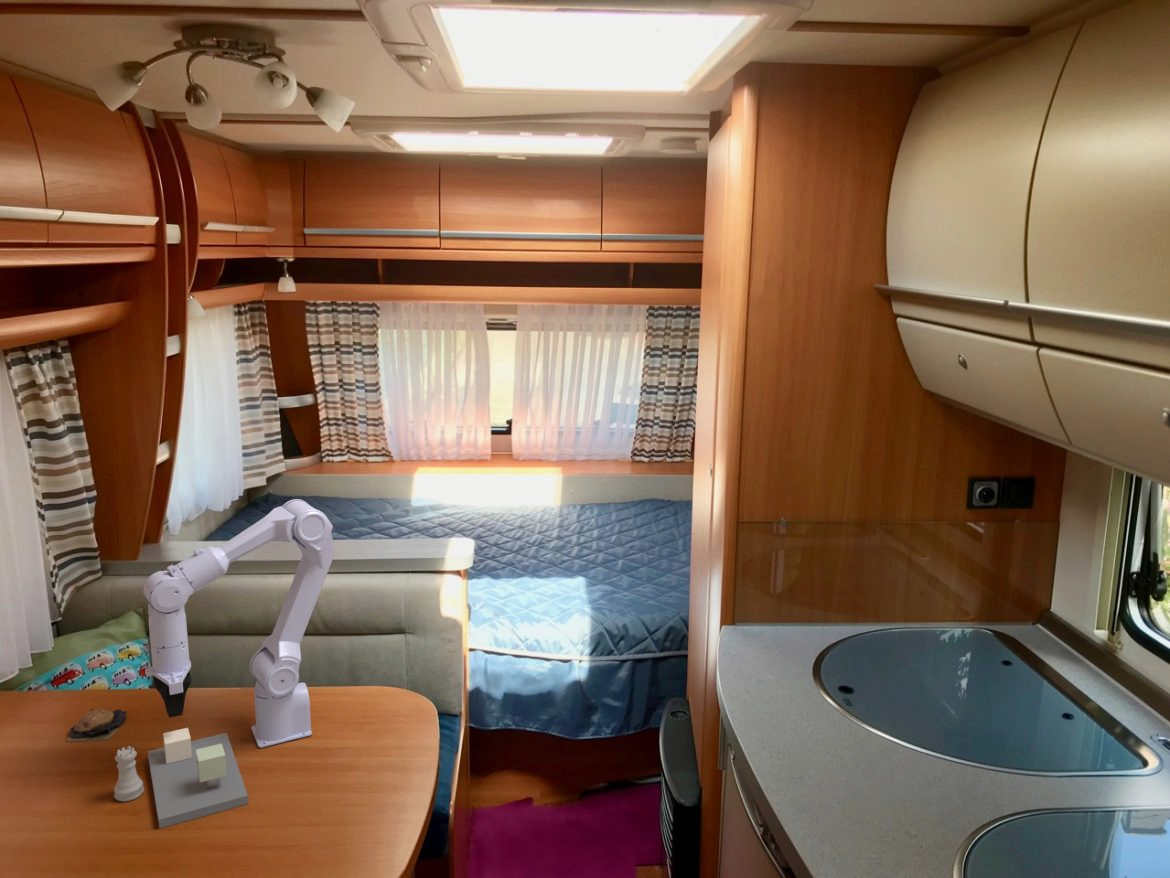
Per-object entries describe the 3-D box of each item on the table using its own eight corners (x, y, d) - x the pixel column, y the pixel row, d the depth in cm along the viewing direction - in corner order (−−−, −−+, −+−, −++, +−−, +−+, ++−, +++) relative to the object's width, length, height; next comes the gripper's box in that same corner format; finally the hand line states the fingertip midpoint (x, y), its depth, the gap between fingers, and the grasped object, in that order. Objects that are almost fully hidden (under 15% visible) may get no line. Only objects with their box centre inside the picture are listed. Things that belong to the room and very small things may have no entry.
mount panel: (227, 740, 158) (225, 720, 157) (248, 803, 139) (246, 781, 138) (148, 759, 151) (146, 738, 150) (159, 828, 132) (157, 805, 132)
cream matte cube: (189, 746, 152) (187, 727, 152) (192, 757, 149) (190, 738, 148) (164, 752, 150) (162, 733, 150) (166, 763, 147) (165, 744, 146)
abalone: (109, 744, 157) (108, 726, 156) (61, 745, 156) (59, 726, 155) (134, 714, 167) (133, 697, 166) (89, 715, 166) (87, 698, 166)
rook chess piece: (131, 804, 138) (127, 759, 137) (107, 800, 139) (103, 755, 138) (150, 788, 143) (146, 744, 141) (127, 785, 143) (123, 741, 142)
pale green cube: (222, 763, 144) (221, 743, 143) (226, 775, 140) (225, 755, 140) (197, 770, 142) (195, 749, 141) (200, 782, 138) (198, 761, 138)
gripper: (140, 630, 150) (146, 702, 152) (146, 663, 137) (153, 740, 140) (184, 622, 153) (189, 692, 156) (194, 654, 141) (199, 729, 144)
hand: (175, 714), depth 148 cm, fingers closed
